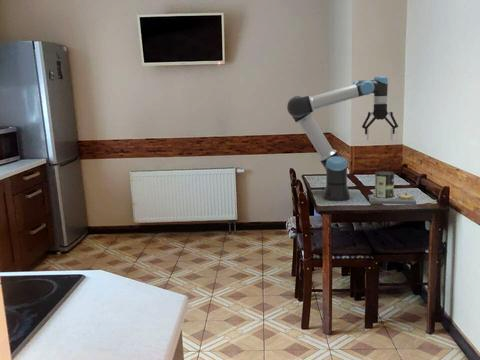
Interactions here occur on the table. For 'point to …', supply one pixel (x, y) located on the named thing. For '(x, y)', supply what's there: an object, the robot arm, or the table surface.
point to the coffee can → (384, 185)
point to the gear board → (393, 199)
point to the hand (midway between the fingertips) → (379, 139)
